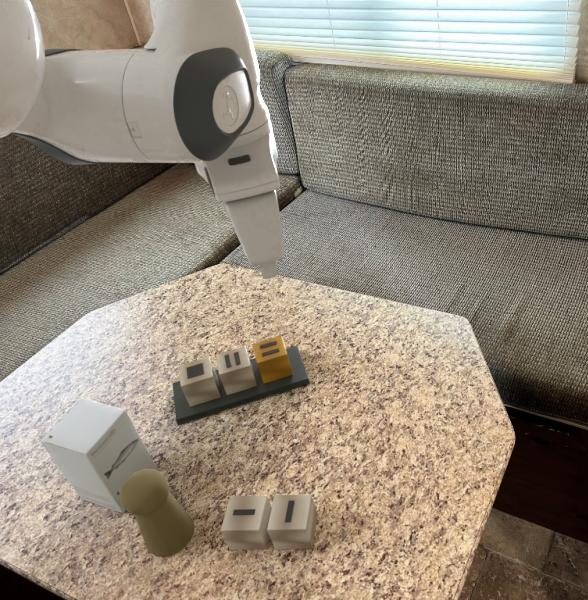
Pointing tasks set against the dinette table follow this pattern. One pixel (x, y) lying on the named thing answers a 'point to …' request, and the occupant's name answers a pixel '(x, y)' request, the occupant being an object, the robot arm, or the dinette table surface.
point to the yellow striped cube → (272, 359)
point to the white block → (292, 521)
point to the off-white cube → (247, 522)
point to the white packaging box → (97, 451)
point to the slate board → (242, 397)
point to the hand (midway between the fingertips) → (262, 253)
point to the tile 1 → (199, 381)
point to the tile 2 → (236, 370)
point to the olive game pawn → (157, 513)
